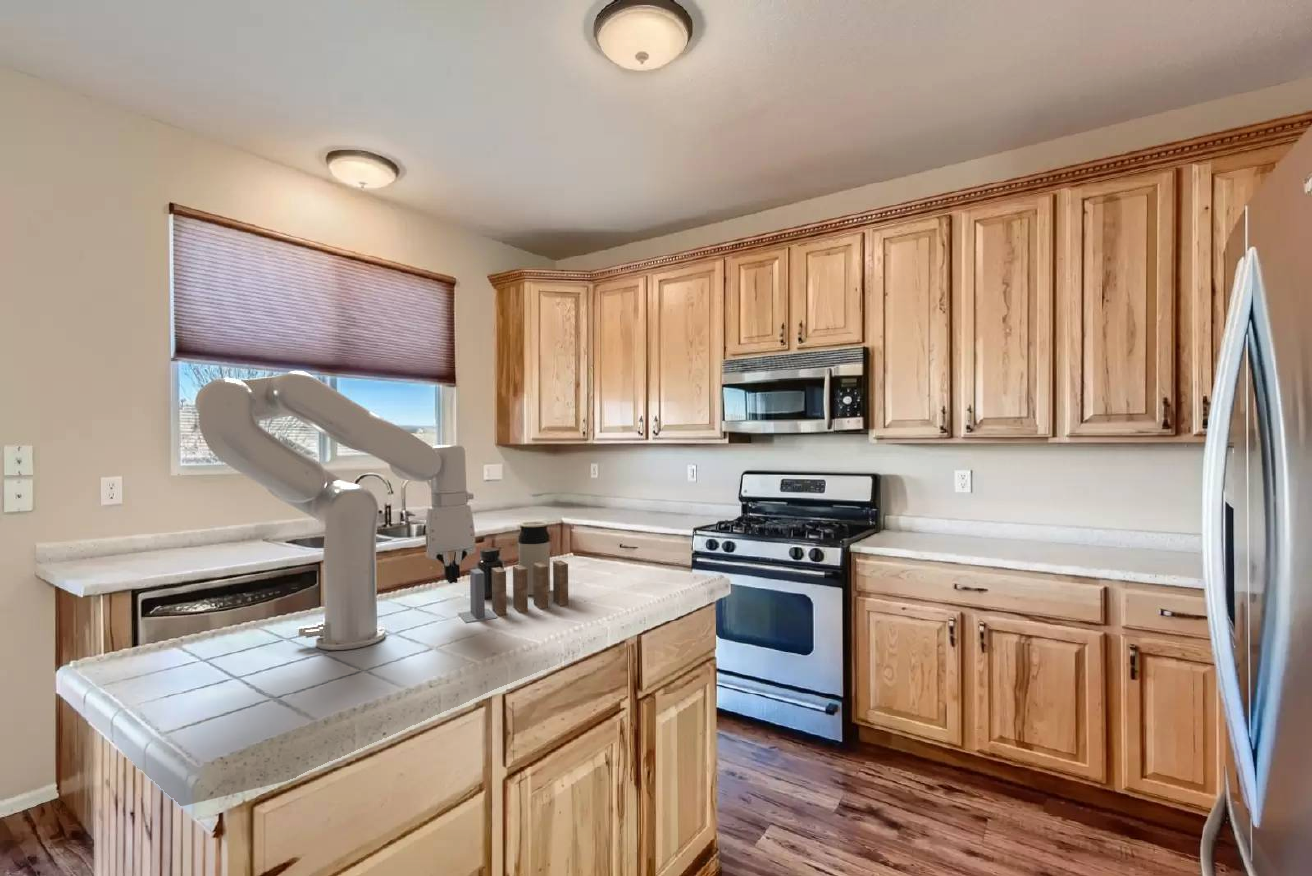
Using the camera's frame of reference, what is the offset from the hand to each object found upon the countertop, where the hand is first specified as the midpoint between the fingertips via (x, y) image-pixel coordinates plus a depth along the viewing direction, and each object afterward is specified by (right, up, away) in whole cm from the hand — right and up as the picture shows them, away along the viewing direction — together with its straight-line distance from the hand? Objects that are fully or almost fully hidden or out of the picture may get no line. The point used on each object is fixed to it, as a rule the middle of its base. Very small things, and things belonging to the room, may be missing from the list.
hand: (452, 581), depth 140 cm
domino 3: (+14, -8, +7) cm, 18 cm away
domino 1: (+5, -8, +3) cm, 10 cm away
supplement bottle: (+3, -8, +20) cm, 22 cm away
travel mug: (+14, -8, +24) cm, 29 cm away
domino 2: (+9, -8, +5) cm, 13 cm away
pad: (+5, -8, +3) cm, 10 cm away
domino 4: (+18, -8, +10) cm, 22 cm away
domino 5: (+22, -8, +12) cm, 27 cm away
